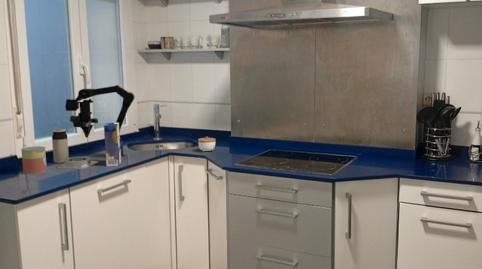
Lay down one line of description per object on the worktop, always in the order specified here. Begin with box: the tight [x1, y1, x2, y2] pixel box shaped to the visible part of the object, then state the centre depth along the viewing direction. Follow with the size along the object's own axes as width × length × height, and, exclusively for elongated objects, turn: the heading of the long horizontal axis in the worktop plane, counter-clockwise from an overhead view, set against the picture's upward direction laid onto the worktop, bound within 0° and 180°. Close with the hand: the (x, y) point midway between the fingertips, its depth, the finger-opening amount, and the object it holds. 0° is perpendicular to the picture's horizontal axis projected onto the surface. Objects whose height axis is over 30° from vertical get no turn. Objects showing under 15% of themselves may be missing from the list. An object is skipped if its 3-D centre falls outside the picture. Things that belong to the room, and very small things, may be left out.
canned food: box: [20, 145, 48, 175], centre depth 237 cm, size 11×11×12 cm
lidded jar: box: [197, 136, 216, 152], centre depth 285 cm, size 11×11×9 cm
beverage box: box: [103, 122, 122, 167], centre depth 252 cm, size 7×11×22 cm, turn 9°
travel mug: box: [51, 128, 70, 164], centre depth 258 cm, size 8×8×18 cm
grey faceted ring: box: [56, 156, 99, 170], centre depth 251 cm, size 16×16×3 cm
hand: (86, 137), depth 268 cm, fingers closed
